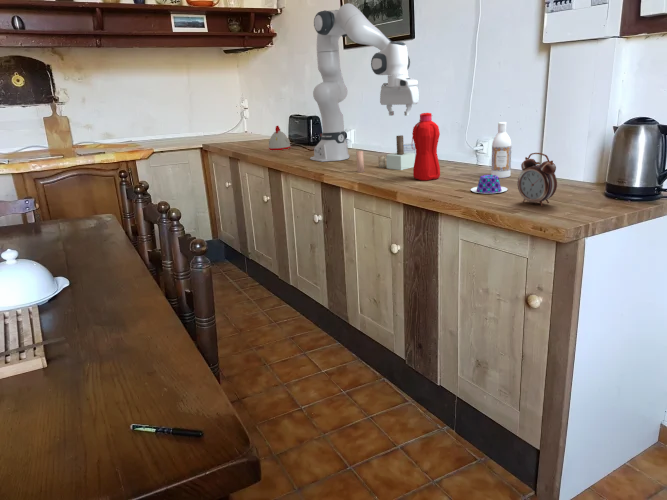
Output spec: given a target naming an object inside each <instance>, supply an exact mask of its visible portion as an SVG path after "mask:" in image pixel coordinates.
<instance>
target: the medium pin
mask: <svg viewBox="0 0 667 500" xmlns="http://www.w3.org/2000/svg"><path fill="white" fill-rule="evenodd" d="M364 161H365V159H364V151H363V150H356V170H357V173H364V172H365V162H364Z"/></svg>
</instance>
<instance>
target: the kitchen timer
mask: <svg viewBox="0 0 667 500" xmlns="http://www.w3.org/2000/svg"><path fill="white" fill-rule="evenodd" d="M274 129H275V130H274V132H273V134H272V135H271V136H270V139H268V150H269V149H270V150H282V151H284V150H283V149H288V148H292V147H291V143H290V139H289V137H288V136H287V135H286V133H284V132H283V131H281V128H280V126H279V125H276V126H275V128H274ZM288 150H289V149H288Z"/></svg>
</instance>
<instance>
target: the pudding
mask: <svg viewBox="0 0 667 500" xmlns="http://www.w3.org/2000/svg"><path fill="white" fill-rule="evenodd" d="M470 191H472V192H473V193H475V194H477V193H478V194H485V195H486V194H487V195H488V194H491V195H492V194H500V193H503V192H507V191H508V188H507V187H505V186H501V182H500V178H499V177H498V176H496V175H491V174H484V175H480V177H479V181H478V184H477V186H475V187H472V188H470Z"/></svg>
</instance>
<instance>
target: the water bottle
mask: <svg viewBox="0 0 667 500" xmlns="http://www.w3.org/2000/svg"><path fill="white" fill-rule="evenodd" d="M432 117H433V115H432V113H431V112H423V113H420V114H419V121H418V122H417V123H416V124H414V126H413V128H412V132H411V133H412V139H411V143H413V144H415V149H416V157H415V162H414V167H412V168H413V171H412V172H413V174H412V175H413V177H414V179H415V180H420V181H421V182H423V181H431V180H437V179H439V178H440V176H441V167H440V163H439V157H438V151H437V150H438V143H439V139H440V135H441V134H440V127H439V125H438V124H437V122H434V121H433V120H432ZM412 149H413V147H412ZM413 150H414V149H413Z"/></svg>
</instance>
